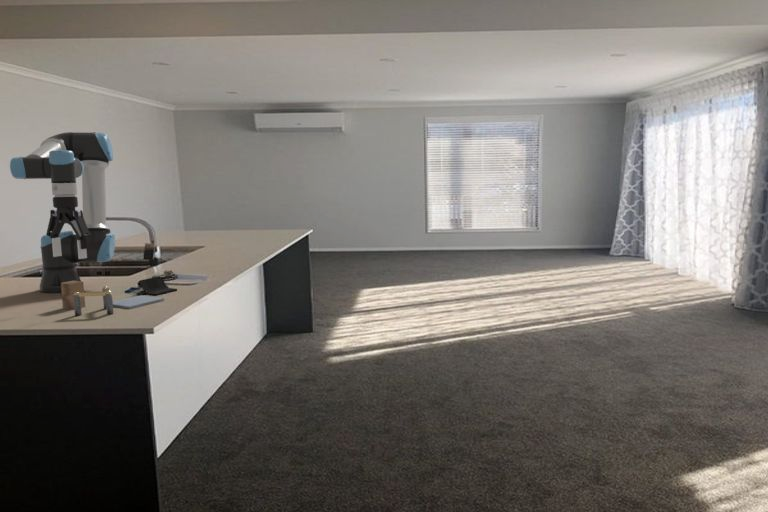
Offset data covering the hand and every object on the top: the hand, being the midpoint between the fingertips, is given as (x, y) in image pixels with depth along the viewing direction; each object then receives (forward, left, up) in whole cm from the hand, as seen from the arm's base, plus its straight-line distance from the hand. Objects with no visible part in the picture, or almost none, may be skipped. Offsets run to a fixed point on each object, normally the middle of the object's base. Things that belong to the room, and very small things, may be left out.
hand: (70, 257), depth 206 cm
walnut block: (0, 0, -18) cm, 18 cm away
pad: (+14, +15, -18) cm, 27 cm away
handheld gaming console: (+6, +32, -18) cm, 37 cm away
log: (-15, +54, -18) cm, 59 cm away
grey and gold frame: (+16, -1, -18) cm, 24 cm away
